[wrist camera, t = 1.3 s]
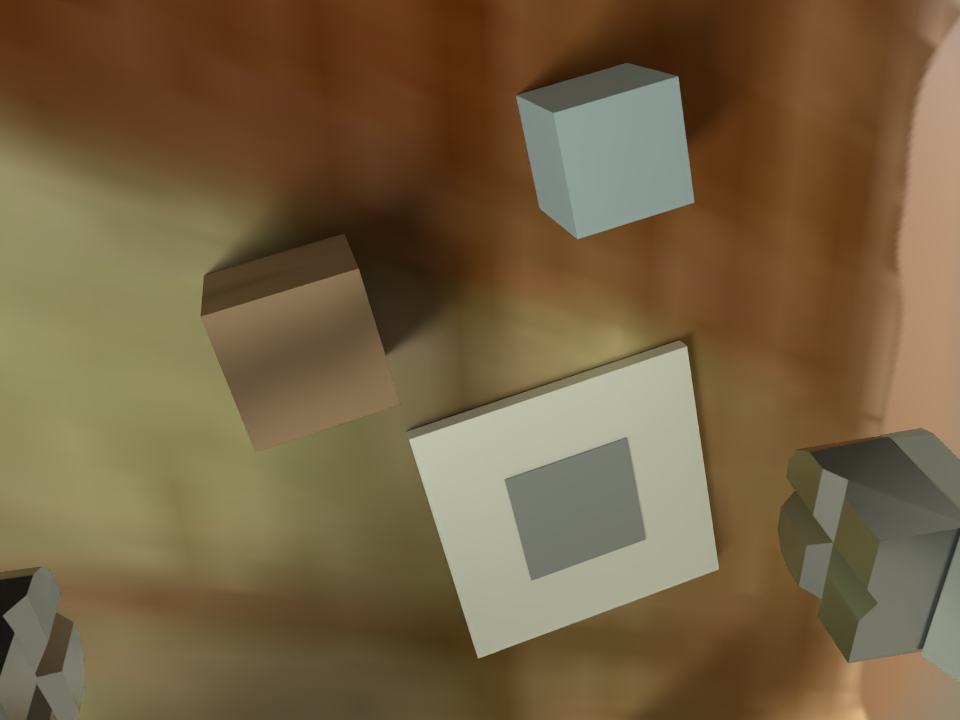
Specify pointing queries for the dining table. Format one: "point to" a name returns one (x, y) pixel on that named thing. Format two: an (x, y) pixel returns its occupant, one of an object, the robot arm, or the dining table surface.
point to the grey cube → (607, 148)
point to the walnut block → (297, 342)
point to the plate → (570, 497)
